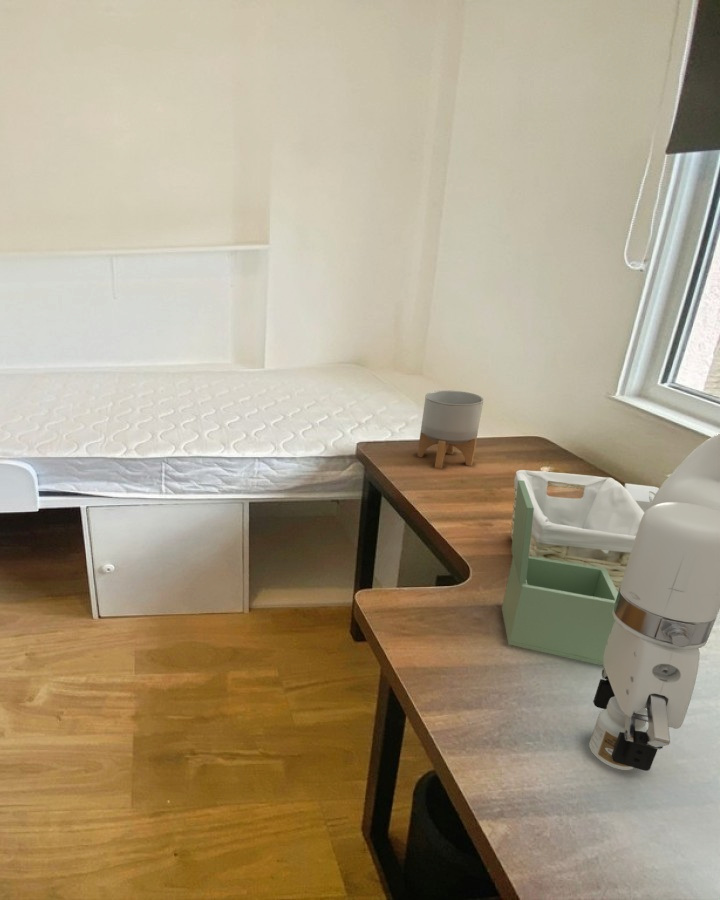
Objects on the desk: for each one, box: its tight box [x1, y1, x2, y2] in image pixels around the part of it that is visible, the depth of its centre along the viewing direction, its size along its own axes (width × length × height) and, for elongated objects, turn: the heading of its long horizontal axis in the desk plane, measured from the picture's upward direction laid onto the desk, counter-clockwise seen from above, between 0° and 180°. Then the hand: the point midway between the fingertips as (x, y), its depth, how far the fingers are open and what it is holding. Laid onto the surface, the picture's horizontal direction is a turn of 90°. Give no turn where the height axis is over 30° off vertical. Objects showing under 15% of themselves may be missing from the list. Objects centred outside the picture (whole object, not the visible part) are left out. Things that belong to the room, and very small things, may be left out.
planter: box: [416, 390, 484, 470], centre depth 146 cm, size 13×13×18 cm
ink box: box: [623, 483, 660, 513], centre depth 104 cm, size 8×5×12 cm, turn 141°
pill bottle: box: [588, 696, 648, 771], centre depth 65 cm, size 4×4×8 cm
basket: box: [510, 469, 644, 592], centre depth 98 cm, size 24×16×15 cm
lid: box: [511, 480, 534, 584], centre depth 83 cm, size 12×10×1 cm
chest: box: [501, 556, 618, 667], centre depth 84 cm, size 12×10×11 cm
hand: (619, 734), depth 66 cm, fingers open, 7 cm apart
